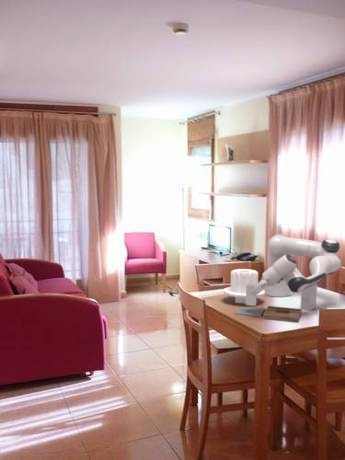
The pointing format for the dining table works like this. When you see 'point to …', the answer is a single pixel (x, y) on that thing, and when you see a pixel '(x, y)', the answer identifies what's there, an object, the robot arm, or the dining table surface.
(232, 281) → the ribbed cylinder on disc
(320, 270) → the robot arm
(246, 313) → the slate mat
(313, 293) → the skincare box
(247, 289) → the steel plug
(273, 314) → the walnut socket block
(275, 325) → the dining table surface
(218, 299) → the dining table surface
